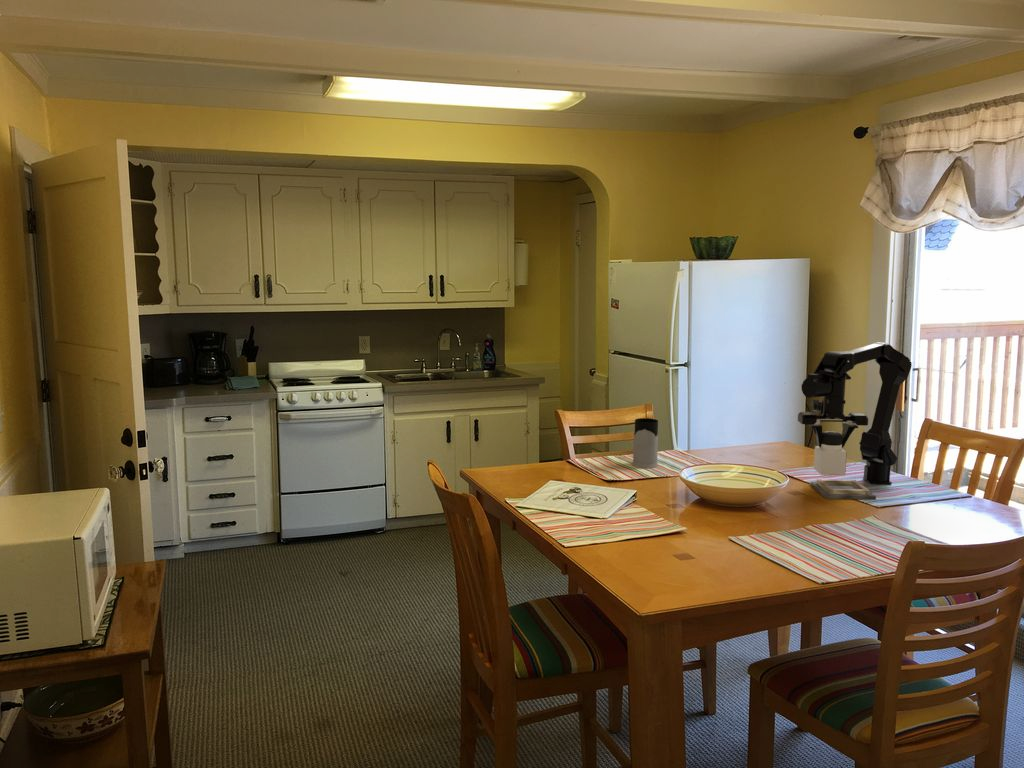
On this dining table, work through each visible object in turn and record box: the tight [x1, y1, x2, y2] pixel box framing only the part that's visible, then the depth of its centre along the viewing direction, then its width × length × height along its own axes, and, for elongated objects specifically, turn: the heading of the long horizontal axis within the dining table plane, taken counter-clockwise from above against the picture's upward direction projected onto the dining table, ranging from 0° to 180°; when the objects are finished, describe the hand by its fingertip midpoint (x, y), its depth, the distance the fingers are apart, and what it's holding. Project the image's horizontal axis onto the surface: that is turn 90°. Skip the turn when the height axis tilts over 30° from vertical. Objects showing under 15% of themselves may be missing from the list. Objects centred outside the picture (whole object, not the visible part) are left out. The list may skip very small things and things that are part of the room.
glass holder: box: [631, 417, 659, 469], centre depth 273 cm, size 9×14×15 cm, turn 163°
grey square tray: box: [810, 478, 877, 500], centre depth 242 cm, size 14×14×2 cm
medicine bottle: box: [813, 430, 848, 476], centre depth 243 cm, size 7×7×12 cm
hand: (830, 447), depth 243 cm, fingers closed on medicine bottle, 6 cm apart
